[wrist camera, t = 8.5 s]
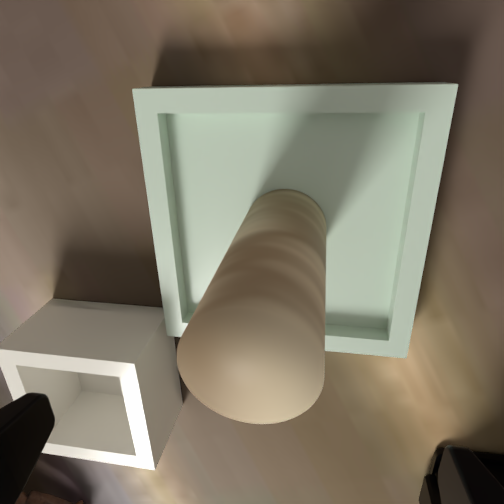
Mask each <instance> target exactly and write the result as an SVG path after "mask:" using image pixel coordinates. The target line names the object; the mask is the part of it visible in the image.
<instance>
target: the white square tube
mask: <svg viewBox="0 0 504 504" xmlns="http://www.w3.org/2000/svg"><path fill="white" fill-rule="evenodd" d="M0 366H1V369H2V372H3V374H4V377H5V379H6V382H7V385H8V387H9V390H10V392H11V395H12V398H13V400H16V399H18V398H20V397H21V396H23V395H25V394H27V393H30V392H35V393H43V394H46V395H47V396H48V398H49V401H50V404H51V407H52V410H53V413H54V416H55V425H54V428H53V430H52V432H51V434H50V436H49V438H48V440H47V442H46V445H45V447H44V449H43V451H42V453H47V454H53V455H60V456H66V457H73V458H79V459H85V460H92V461H98V462H105V463H111V464H118V465H124V466H131V467H137V468H144V469H150V470H155V469H156V467H157V464H158V462H159V460H160V457H161V455H162V453H163V450H164V448H165V445H166V443H167V441H168V438H169V436H170V434H171V431H172V429H173V427H174V424H175V422H176V420H177V417H178V415H179V413H180V410H181V408H182V405H183V401H182V393H181V386H180V378H179V370H178V365H177V355H176V348H175V340H174V336H167V332H166V325H165V318H164V311H163V308H162V307H150V306H137V305H125V304H113V303H101V302H89V301H77V300H64V299H51V300H50V301H49V302H48V303H47V304H45V305H44V306H43V307H42V308H41V309H40V310H38V311H37V312H36V313H35V314H34V315H32V316H31V317H30V318H29V319H28V320H27V321H25V322H24V323H23V324H22V325H21V326H20V327H18V328H17V329H16V330H15V331H14V332H13V333H11V334H10V335H9V336H8V337H7V338H5V339H4V340H3V341H2V342H1V343H0Z"/></svg>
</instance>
